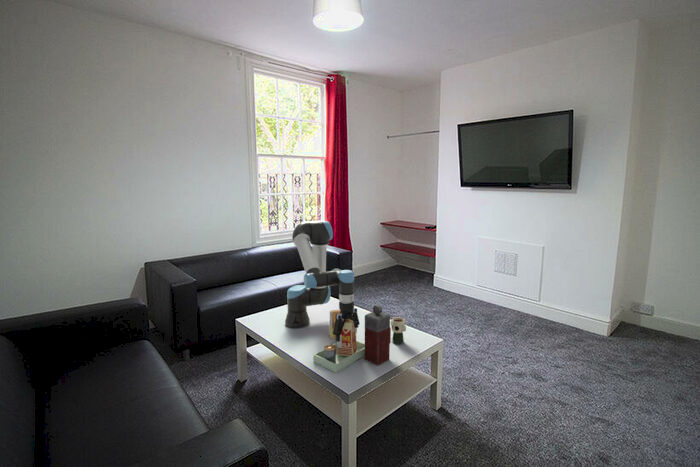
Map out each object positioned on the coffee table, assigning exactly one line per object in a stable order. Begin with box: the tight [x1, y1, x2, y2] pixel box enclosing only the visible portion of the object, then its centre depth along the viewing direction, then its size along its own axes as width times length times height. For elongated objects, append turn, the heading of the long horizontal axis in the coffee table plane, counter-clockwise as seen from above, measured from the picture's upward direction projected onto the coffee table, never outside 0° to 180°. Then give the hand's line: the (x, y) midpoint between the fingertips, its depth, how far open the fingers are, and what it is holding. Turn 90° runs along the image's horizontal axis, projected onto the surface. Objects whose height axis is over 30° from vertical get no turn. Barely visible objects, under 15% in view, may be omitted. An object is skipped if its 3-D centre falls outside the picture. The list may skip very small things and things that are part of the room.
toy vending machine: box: [364, 304, 392, 366], centre depth 170 cm, size 9×11×28 cm
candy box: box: [329, 308, 343, 340], centre depth 196 cm, size 9×4×15 cm, turn 116°
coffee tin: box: [324, 343, 336, 364], centre depth 166 cm, size 6×6×8 cm
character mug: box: [390, 316, 407, 345], centre depth 189 cm, size 11×7×13 cm, turn 39°
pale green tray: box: [312, 340, 365, 374], centre depth 173 cm, size 15×25×4 cm, turn 139°
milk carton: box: [337, 319, 357, 357], centre depth 174 cm, size 9×9×20 cm
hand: (346, 343), depth 175 cm, fingers closed on milk carton, 10 cm apart
